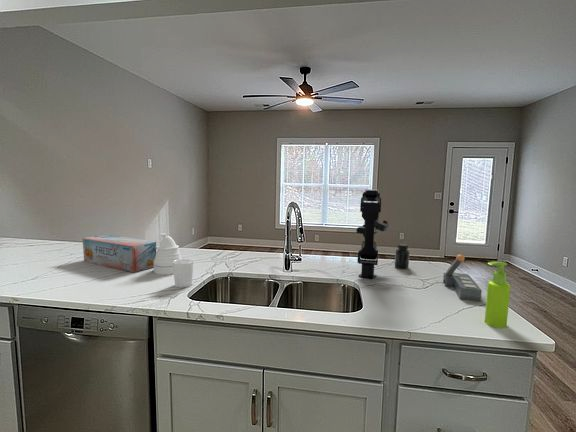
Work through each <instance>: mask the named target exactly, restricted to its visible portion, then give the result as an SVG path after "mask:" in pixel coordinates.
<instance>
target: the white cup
mask: <svg viewBox="0 0 576 432" xmlns="http://www.w3.org/2000/svg"><path fill="white" fill-rule="evenodd" d="M173 271H174V274H173V278H174V279H173V280H174V287H176V288H180V289H181V288H188V287H191V286H192V285H193V277H194V276H193V275H194V274H193V273H194V260H193V259H189V258H182V259H180V260H175V261H173Z"/></svg>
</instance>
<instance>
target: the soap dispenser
mask: <svg viewBox="0 0 576 432" xmlns="http://www.w3.org/2000/svg"><path fill="white" fill-rule="evenodd" d="M486 264H488V265H489V266H497V269H496V270H495V271H494V272H493V278H492V280H489V281H488V282H487V290H486V291H487V292H486V303H485V314H484V323H485V324H486V325H487V326H490V327H493V328H498V329H505V328H507V326H508V316H509V315H508V313H509V304H510V296H511V295H510V293H511V284H510V283H507V276H508V275H507V273H506V272H505V271H504V270H505V266H508V263H507V262H505V261H496V260H495V261H488V262H487V263H486Z"/></svg>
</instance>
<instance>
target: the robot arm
mask: <svg viewBox="0 0 576 432" xmlns="http://www.w3.org/2000/svg"><path fill="white" fill-rule="evenodd" d="M380 196H381V192H380V191H379V189H370V188H369V189H365V191H363V193H362V195H361V198H360V207H359V208H360V209H359V210H360V212H361V218H362V219H363V221H364V224H363V225H362V226H359V227H357V228H356V231H355V232H356V234H360V235H361V234H362V235H363V237H364V241H362V242H361V247H360V249H359V250H358V252H357V264H358V265H361V272H360V274H358V277H360V278H364V279H369V280H373V279H374V278H376V277H377V275H378V274H375V266H378V262H379V261H378V260H379V259H378V257H379V250H378V249H377V242H376V241H375V240H374V239H375V235H377V234H378V233H379V232H378V231H381V232H386V231H387V229H388V228H389V221H388V220H383V221H382V220H379V218H380V217H379V215H380V213H381V212H382V198H381V197H380ZM376 230H378V231H376Z"/></svg>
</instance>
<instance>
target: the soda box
mask: <svg viewBox="0 0 576 432" xmlns="http://www.w3.org/2000/svg"><path fill="white" fill-rule="evenodd" d="M156 247H157V241H154V240H145V239H142V238H141V239H140V238H133V237H126V236H120V235H119V236H118V235H111V234H103V235H96V236H89V237H83V238H82V251H83V252H82V253H83V262H85V263H88V264H89V263H90V264H94V265H97V264H98V266H103V267H106V268H112V269H116V270H121V271H126V272H130V273H136V272H141V271H144V270H148V269H152V268H154V259H155V256H156V253H157V248H156Z"/></svg>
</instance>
